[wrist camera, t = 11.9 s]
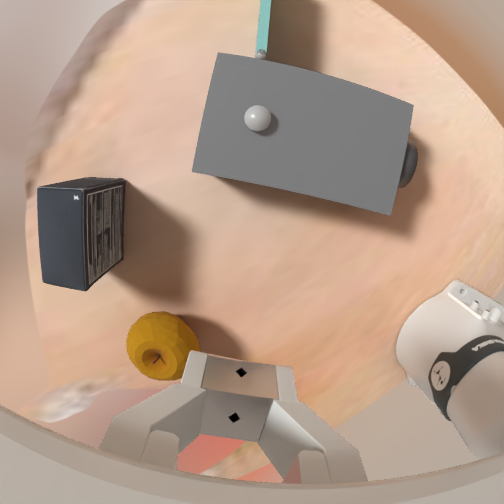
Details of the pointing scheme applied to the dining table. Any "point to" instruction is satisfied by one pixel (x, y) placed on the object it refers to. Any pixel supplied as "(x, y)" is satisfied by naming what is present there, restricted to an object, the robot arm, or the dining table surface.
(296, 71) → the block
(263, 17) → the side door
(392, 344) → the dining table surface
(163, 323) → the apple
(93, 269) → the small box
